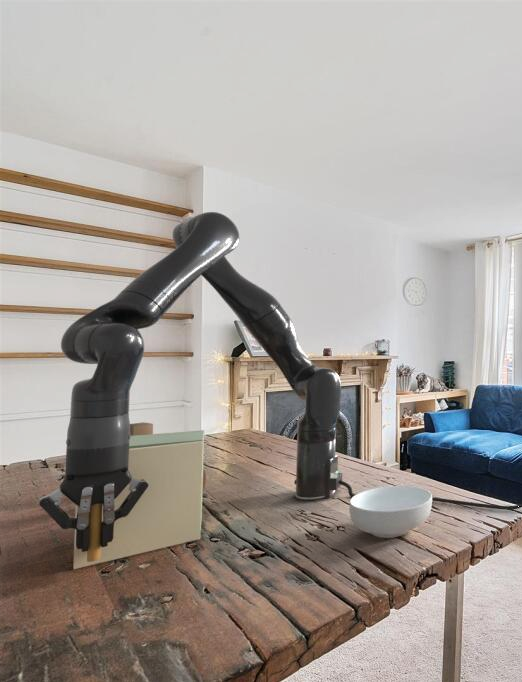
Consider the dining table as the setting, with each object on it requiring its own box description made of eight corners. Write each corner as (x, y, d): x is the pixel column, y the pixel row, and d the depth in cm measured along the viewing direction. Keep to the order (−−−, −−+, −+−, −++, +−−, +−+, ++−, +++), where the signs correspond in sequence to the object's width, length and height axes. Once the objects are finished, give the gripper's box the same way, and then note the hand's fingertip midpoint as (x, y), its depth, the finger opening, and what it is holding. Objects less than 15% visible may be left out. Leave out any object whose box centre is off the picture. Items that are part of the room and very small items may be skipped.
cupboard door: (205, 549, 81) (208, 446, 81) (71, 583, 68) (75, 462, 69) (199, 537, 85) (202, 440, 86) (73, 567, 73) (77, 454, 74)
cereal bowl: (445, 521, 96) (446, 489, 96) (403, 554, 80) (404, 516, 80) (381, 510, 101) (382, 480, 101) (330, 540, 85) (331, 504, 86)
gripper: (149, 433, 78) (144, 528, 78) (37, 444, 68) (31, 554, 68) (156, 440, 73) (152, 541, 73) (37, 453, 63) (31, 571, 63)
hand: (94, 547), depth 70 cm, fingers closed on cupboard door
